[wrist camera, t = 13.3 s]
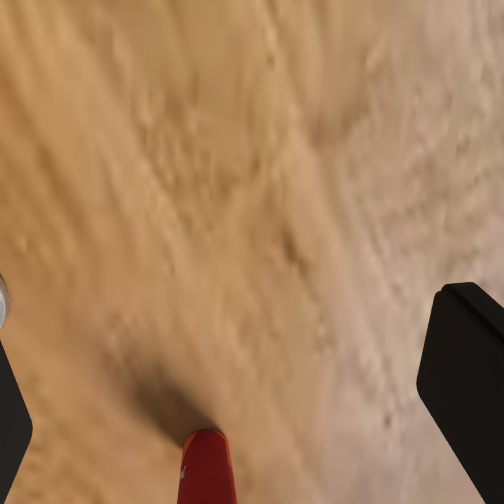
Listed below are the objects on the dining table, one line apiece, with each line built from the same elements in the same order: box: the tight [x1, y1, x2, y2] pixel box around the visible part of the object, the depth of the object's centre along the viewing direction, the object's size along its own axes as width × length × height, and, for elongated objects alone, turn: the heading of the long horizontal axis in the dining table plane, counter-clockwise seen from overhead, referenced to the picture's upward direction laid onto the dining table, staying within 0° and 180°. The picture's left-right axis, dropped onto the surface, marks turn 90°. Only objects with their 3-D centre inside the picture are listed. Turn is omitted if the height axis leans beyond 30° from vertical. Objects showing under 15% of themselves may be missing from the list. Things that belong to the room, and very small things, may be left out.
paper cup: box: [177, 430, 237, 504], centre depth 46 cm, size 8×8×14 cm
